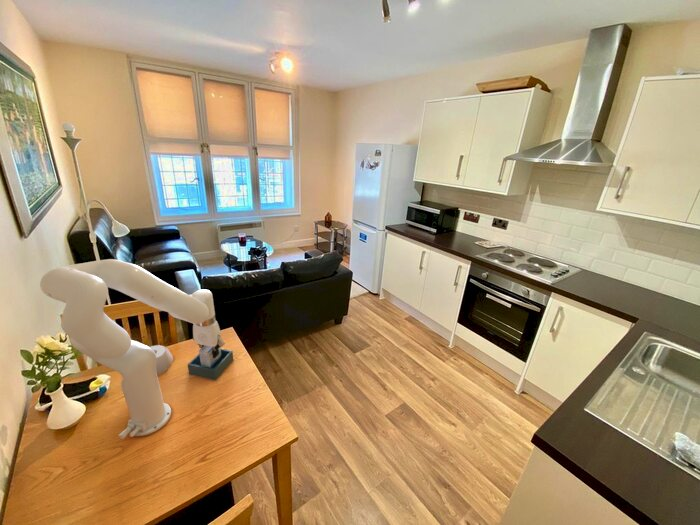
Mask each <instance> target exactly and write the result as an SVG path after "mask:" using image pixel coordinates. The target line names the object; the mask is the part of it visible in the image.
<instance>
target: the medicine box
mask: <svg viewBox="0 0 700 525" xmlns="http://www.w3.org/2000/svg"><path fill="white" fill-rule="evenodd" d="M215 347H216V346H215ZM220 348H221V347H219V348H218V349H219V355H218V356H217V357H216V358H213V354H212V351H213V348H212V347H210V346H205V345H204V346H203V347H202V348H199V350H198V354H199V355H200V361H201V366H203V367H207V368H211V367H212V366H213V365H214V364H215V363H216V362H217V360H218V359H219V358H220V357H221V349H222V348H221V349H220Z"/></svg>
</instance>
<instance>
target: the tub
mask: <svg viewBox="0 0 700 525" xmlns="http://www.w3.org/2000/svg"><path fill="white" fill-rule="evenodd" d="M220 349H221V357H220V358H219V359H218V360H217V362H216V363H215V364H214V365H213V366H212V367H211V368H207V367H203V366H201V361H200V355H199V353H198V354H197V355H196V356H195V357H193V359H192V360H191V361H189V362H188V363H187V369H188V375H190V376H191V375H192V376H196V377H200V378H204V379H208V380H213V381H217V379H219V377H220V376H222V374H223V373H224V372H225V371H226V369H227V368H228V367H229V366H230V365H231V364H232V362H234V354H233V353H234V352H233V350H230V349H226V348H222V347H220Z"/></svg>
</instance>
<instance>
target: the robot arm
mask: <svg viewBox="0 0 700 525" xmlns="http://www.w3.org/2000/svg"><path fill="white" fill-rule="evenodd" d="M39 287H40V290H41V292H42V293H43V294H44V295H46V296H47V297H49V298H51V299H53V300H55V301H58V302H61V303H63V304H65V306H64V308H63V311H62V314H61V318H60V327H61V329H62V331H63V332H64V333H65V334H66V335H67V336H69V342H70V345H71V346H72V348H74V349H75V350H77V351H78V352H80V353H81V354H83V355H85V356H86V357H88V358H89V359H91V360H93V361H94V362H96V363H98V364H99V365H102V366H104V367H106V368H107V369H111V370H113V371H114V372H117V373H119V374H120V375H121V377H122V381H121V390H122V394H123V397H124V399H125V400H124V401H125V403H126V407H127V409H128V413H129V417H130V418H129V419H128V420H127V425H126V428H125V429H124V430H122V431H121V432H120V433H119V434H118V438H119V439H120V440H124V439H125V438H126V437H127V436H129V437H130V438H134V436H135V437H143V436H147V435H151V434H154V433H155V432H157V431H158V430H160V429H162V428H163V427H164V426H165V425H166V424H168V421H170V418H171V416H172V409H171V407H170V405H169V404H168V403H166V402H164V398H163V394H162V390H161V384H160V381H159V377H158V376H157V372H156V354H155V352H154V351H153V350H152V349H151V348H150V346H148V345H146V344H145V343H144V344H143V343H142V342H139V341H137V340H136V341H135V340H133V339H132V338H131V336H130V334H129V333H128V331H127V330H126V329H125V328H123V327H122V326H120V325H119V324H118V323H117V322H115V321H114V320H113V319H112V318H110V316H108V315H107V314H106V312H105V311H104V308H105V306H106V303H107V300H108V297H109V289H111V290H115V291H118V292H120V293H122V294H124V295H126V296H129V297H130V298H133V299H134V300H137V301H139V302H141V303H142V304H145V305H147V306H149V307H152V308H154V309H157V310H160V311H163V312H167V313H168V314H169V316H171V317H173V318H175V319H178V320H181V321H184V322H188V323H190V324H193V325H192V340H193V342H194V343H195V344H197V345H198V348H199V349H201V348H202V347H203V346H204V345H205V346H210V347H212V348H213V351H212V354H213V358H216V357H217V356H218V355H219V349H218V348H219V347H220V348H222V347H223V346H225V344H226V343H225V342H224V340H223V339H222V334H221V328H220V325H219V323H218V321H217V319H216V311H215V305H214V304H215V303H214V298H213V297H214V296H213V293H212V291H210V290H209V289H199V290H196V291H194V292H192V294H188V293H186V292H184V291H182V290H181V289H179V288H177V287H176V286H175V287H174V286H173V285H171V284H169V283H167V282H166V281H164V280H162V279H160V278H159V277H157V276H155V275H154V274H152V273H151V272H150V271H148V270H147V269H145V268H143V267H141V266H139V265H137V264H134V263H131V262H127V261H123V260H120V259H115V258H114V259H113V258H108V259H100V260H99V259H98V260H94V261H93V260H92V261H88V262H83V263H82V262H81V263H75V264H69V265H63V266H59V267H56V268H52V269H50V270H49V271H47V272H46V273H45V274H44V275H43V276H42V277H41V279H40V282H39ZM215 346H216V347H215Z"/></svg>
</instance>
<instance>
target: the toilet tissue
mask: <svg viewBox="0 0 700 525" xmlns="http://www.w3.org/2000/svg"><path fill="white" fill-rule="evenodd" d="M149 347H150V348H151V349H152V350H153V351H154V352H155V354H156V372H157V377H158V376H160V375H162V374H163V373H165V372H166V371H167V370H168V369H169V367H170V366H171V365H172V363H173V361H174V356H173V355H172V353H171V351H170V350H169V348H168V347H166V346H165V345H160V344H155V345H151V346H149Z"/></svg>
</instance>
